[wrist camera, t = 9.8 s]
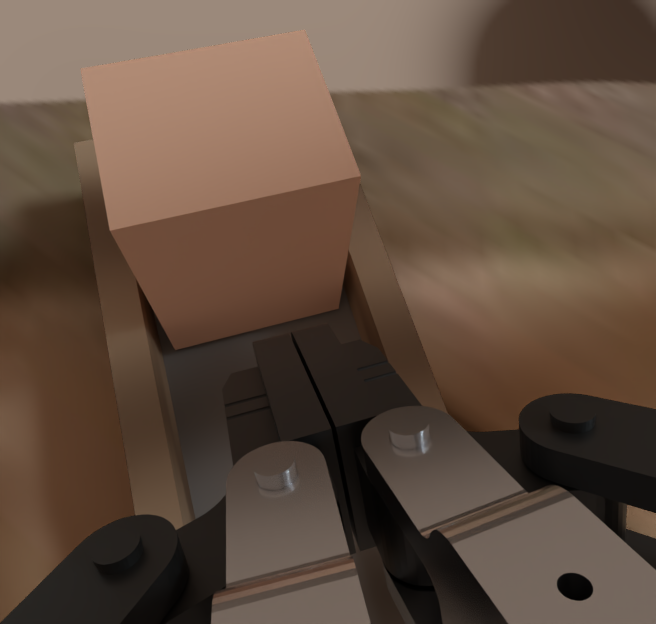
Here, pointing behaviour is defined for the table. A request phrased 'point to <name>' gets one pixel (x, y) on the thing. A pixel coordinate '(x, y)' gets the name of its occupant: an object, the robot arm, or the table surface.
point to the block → (226, 183)
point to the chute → (215, 368)
